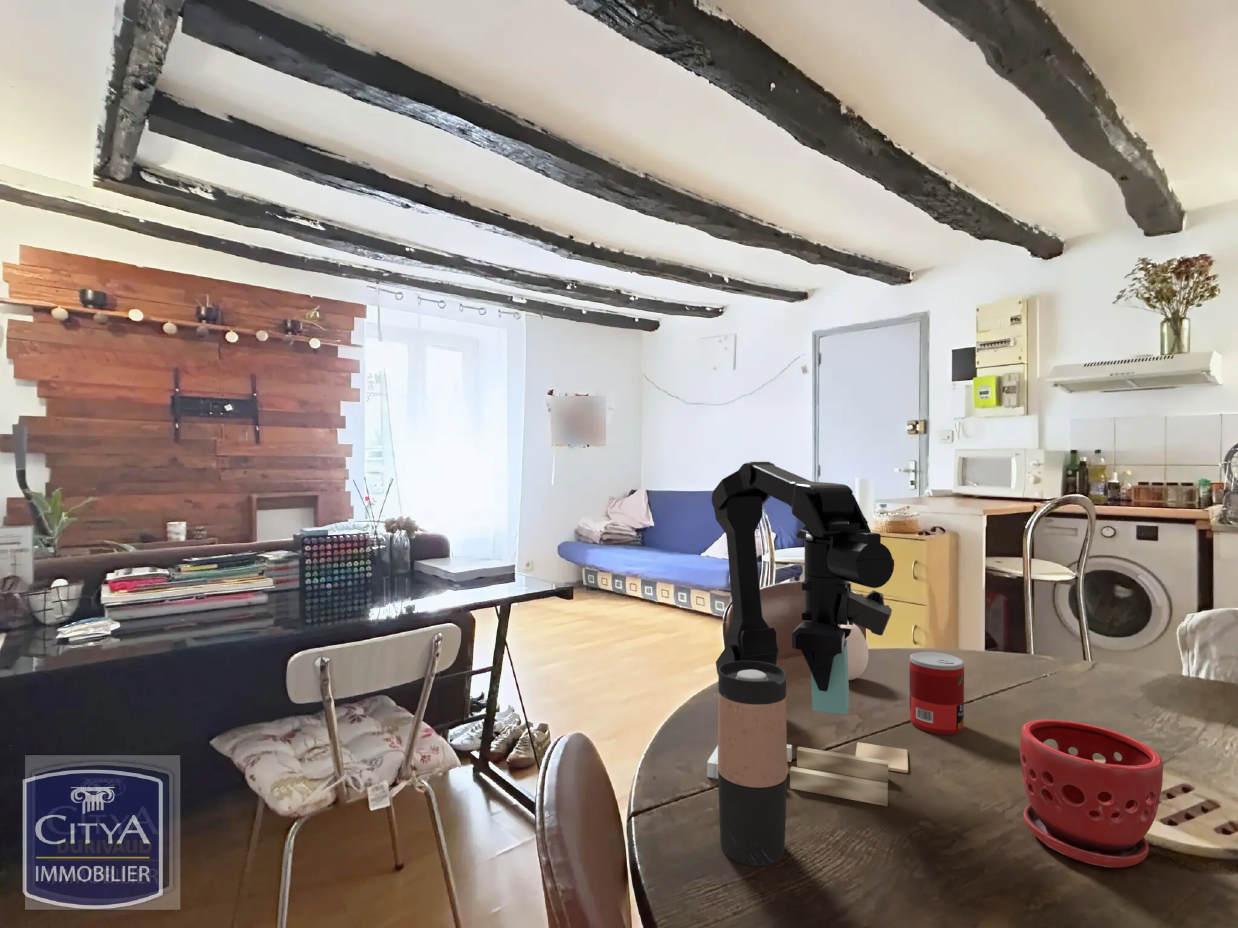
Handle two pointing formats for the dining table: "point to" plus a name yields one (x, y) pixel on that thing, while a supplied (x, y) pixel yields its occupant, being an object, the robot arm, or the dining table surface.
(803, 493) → the robot arm
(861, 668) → the egg
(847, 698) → the block
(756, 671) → the travel mug
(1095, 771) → the plant pot
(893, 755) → the cork pad
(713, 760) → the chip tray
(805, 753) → the slot rails
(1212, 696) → the dining table surface
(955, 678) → the canned food
